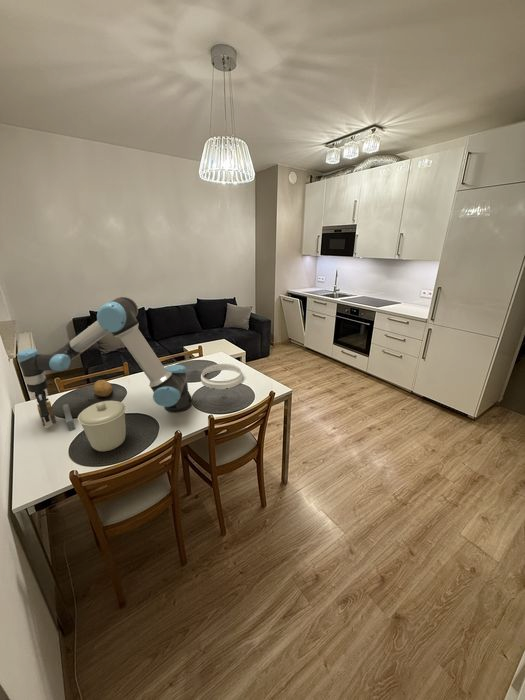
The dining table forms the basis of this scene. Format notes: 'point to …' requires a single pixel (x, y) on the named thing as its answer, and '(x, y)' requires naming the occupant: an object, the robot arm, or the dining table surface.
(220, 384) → the white flat ring
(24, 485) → the dining table surface
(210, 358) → the dining table surface
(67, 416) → the grey bar
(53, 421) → the block
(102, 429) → the canister
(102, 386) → the potato
